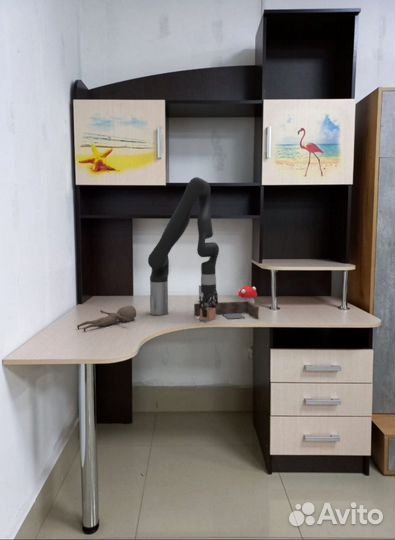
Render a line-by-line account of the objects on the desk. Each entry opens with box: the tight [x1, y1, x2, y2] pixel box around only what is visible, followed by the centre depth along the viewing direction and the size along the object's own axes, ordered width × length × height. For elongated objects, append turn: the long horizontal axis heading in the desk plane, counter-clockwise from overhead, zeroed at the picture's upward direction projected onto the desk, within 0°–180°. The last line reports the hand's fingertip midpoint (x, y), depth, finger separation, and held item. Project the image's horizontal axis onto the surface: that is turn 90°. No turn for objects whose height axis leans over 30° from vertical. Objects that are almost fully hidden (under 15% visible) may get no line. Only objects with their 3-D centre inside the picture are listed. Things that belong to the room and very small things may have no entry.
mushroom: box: [237, 285, 258, 304], centre depth 236 cm, size 11×11×12 cm
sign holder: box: [197, 284, 218, 303], centre depth 244 cm, size 21×2×10 cm, turn 29°
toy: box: [76, 305, 137, 332], centre depth 201 cm, size 26×8×30 cm
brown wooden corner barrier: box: [193, 300, 260, 320], centre depth 214 cm, size 30×15×6 cm, turn 102°
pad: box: [222, 313, 246, 320], centre depth 214 cm, size 9×9×1 cm
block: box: [199, 307, 216, 322], centre depth 209 cm, size 6×6×6 cm
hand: (208, 315), depth 210 cm, fingers open, 8 cm apart
